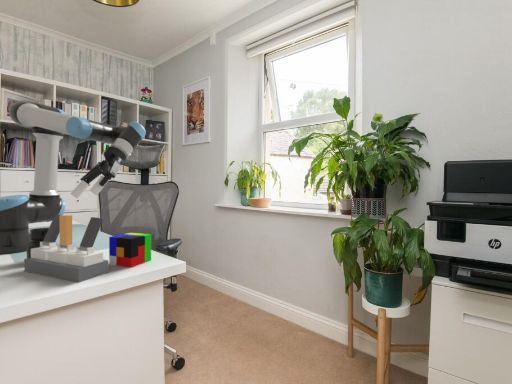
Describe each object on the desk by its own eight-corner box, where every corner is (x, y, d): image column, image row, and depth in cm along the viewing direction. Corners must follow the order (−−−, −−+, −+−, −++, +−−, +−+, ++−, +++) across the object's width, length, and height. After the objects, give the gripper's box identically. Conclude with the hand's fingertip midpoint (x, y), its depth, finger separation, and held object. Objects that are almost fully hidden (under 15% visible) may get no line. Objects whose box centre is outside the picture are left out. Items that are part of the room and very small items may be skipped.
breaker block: (56, 263, 102) (55, 213, 101) (108, 272, 92) (108, 217, 92) (24, 271, 92) (23, 216, 92) (78, 282, 83) (78, 221, 82)
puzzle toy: (109, 264, 101) (109, 236, 101) (130, 258, 110) (130, 232, 110) (131, 267, 98) (131, 239, 97) (151, 260, 107) (151, 234, 107)
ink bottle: (39, 266, 98) (39, 231, 98) (19, 264, 100) (18, 230, 100) (63, 258, 108) (63, 227, 108) (44, 257, 110) (44, 226, 109)
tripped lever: (65, 247, 94) (65, 214, 93) (72, 248, 92) (72, 215, 92) (59, 248, 92) (59, 215, 91) (66, 249, 90) (66, 216, 90)
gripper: (144, 154, 106) (111, 198, 94) (108, 163, 119) (75, 203, 107) (129, 139, 101) (92, 183, 89) (93, 151, 115) (57, 190, 103)
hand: (83, 194), depth 98 cm, fingers open, 13 cm apart
